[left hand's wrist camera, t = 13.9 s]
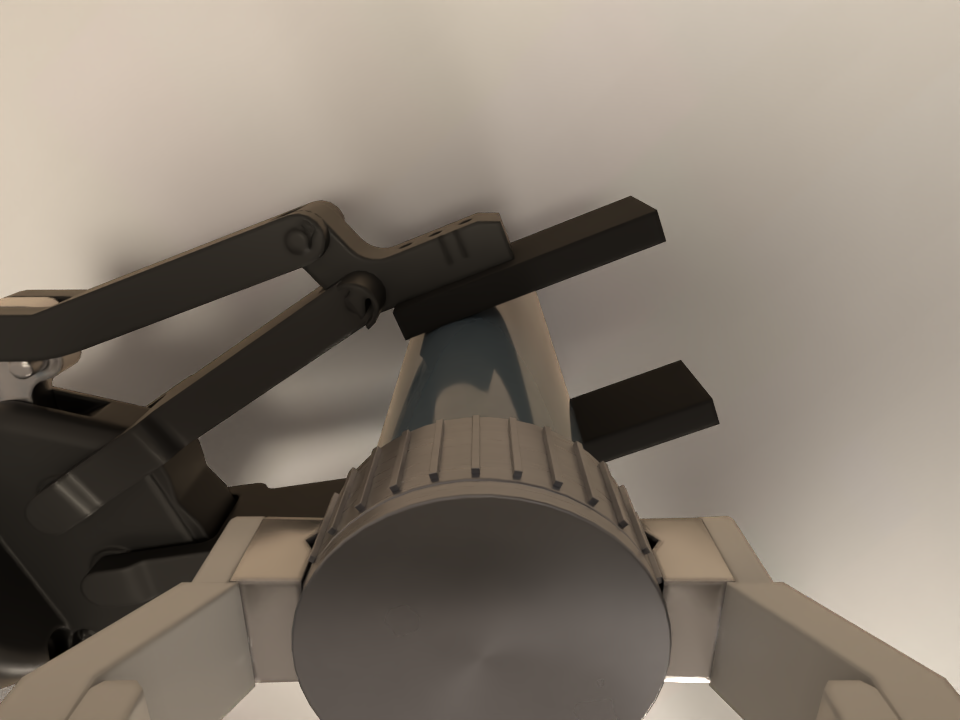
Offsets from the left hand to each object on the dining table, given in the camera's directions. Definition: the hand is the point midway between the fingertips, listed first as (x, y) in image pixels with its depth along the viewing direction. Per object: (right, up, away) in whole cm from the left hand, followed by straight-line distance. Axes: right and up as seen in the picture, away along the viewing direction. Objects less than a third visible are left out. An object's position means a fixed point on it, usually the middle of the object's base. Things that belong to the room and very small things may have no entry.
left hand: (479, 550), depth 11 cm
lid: (0, -1, -2) cm, 2 cm away
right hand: (+5, +4, +6) cm, 9 cm away
